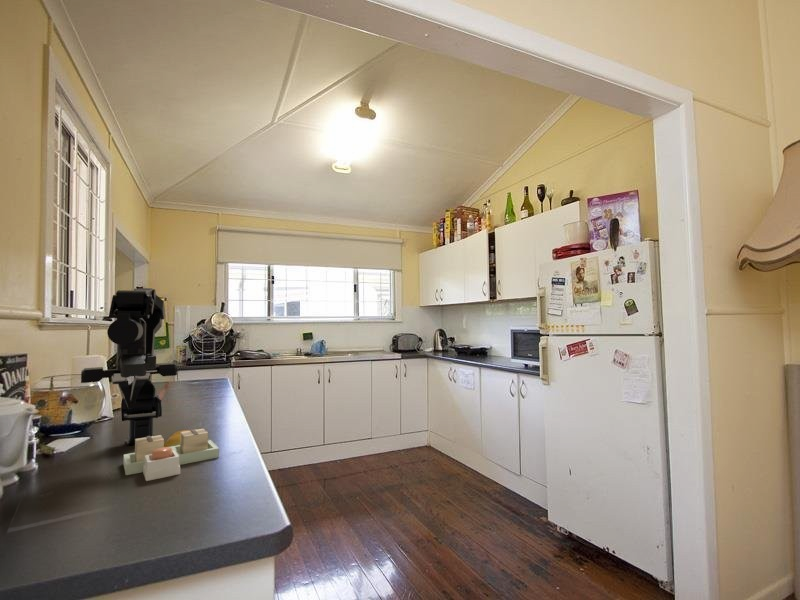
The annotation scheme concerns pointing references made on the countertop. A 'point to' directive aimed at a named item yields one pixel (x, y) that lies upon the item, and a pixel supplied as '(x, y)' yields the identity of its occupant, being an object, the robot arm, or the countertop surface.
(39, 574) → the countertop surface
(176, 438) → the bread roll
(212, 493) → the countertop surface
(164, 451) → the button
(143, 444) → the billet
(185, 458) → the pale green divided tray
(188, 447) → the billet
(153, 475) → the button housing
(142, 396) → the robot arm
